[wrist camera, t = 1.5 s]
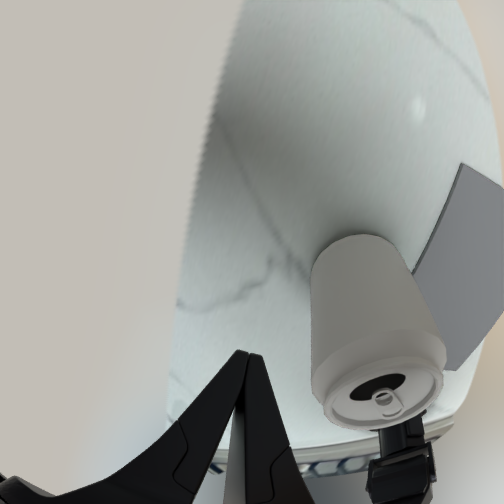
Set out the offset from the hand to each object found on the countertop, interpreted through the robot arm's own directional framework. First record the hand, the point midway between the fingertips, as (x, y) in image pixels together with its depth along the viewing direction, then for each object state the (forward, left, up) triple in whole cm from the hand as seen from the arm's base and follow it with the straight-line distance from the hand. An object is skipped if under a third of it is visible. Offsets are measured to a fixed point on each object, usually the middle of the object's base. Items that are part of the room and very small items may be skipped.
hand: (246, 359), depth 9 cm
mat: (-2, -19, -13) cm, 23 cm away
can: (-3, -7, -13) cm, 15 cm away
